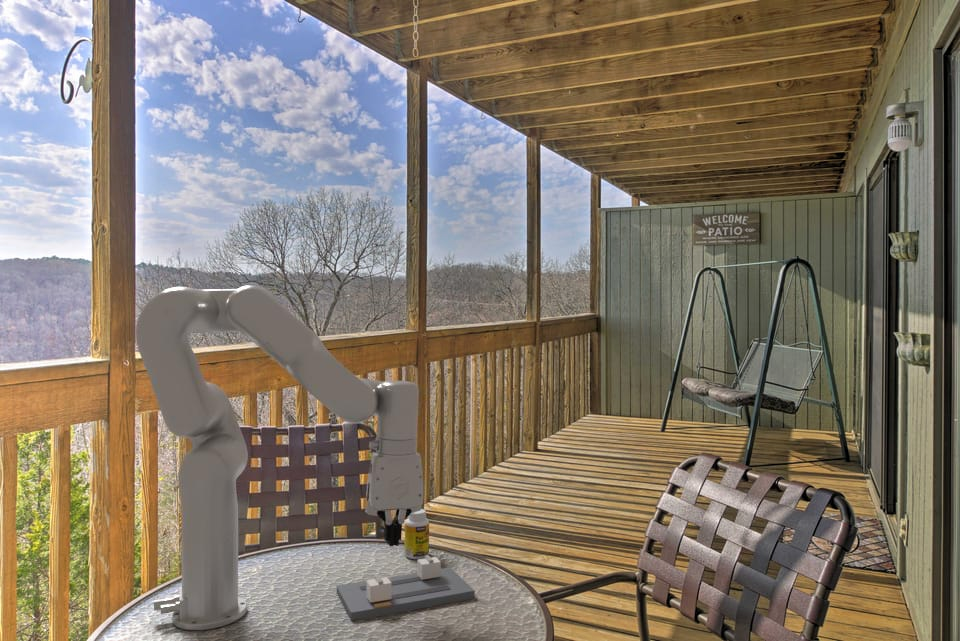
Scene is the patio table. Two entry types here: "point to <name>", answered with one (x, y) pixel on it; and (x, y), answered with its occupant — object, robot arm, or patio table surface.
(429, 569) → the tab far
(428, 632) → the patio table surface
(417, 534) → the supplement bottle
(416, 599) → the switch panel
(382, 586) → the tab near
